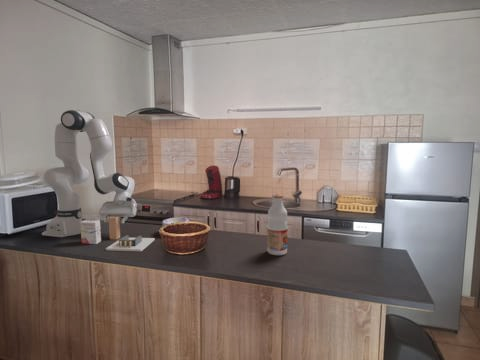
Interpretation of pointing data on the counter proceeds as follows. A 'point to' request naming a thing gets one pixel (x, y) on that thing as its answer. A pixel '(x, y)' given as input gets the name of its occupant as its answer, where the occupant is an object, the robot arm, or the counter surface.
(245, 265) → the counter surface
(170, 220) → the paper bowls
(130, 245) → the cartridge dock
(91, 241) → the ink cartridge box
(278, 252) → the fruit juice
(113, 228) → the tall tan rectangular block
